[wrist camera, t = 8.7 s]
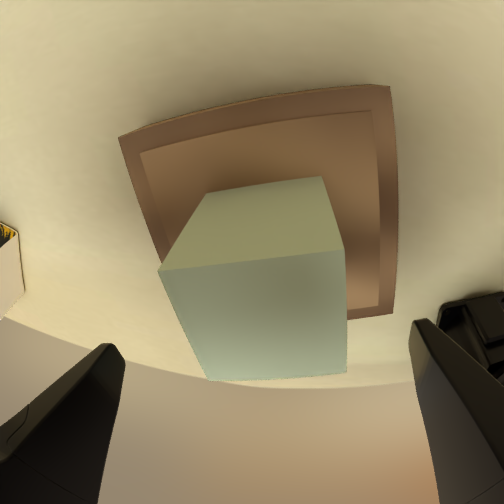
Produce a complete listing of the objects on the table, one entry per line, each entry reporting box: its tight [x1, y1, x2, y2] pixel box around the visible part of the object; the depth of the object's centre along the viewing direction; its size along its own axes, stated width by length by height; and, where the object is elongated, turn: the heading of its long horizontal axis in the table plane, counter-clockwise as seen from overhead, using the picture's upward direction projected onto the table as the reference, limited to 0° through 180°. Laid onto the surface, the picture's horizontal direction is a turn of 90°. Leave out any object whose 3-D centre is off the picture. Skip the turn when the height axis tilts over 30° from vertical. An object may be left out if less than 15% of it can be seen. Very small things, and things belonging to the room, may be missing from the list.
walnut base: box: [118, 85, 398, 320], centre depth 16 cm, size 12×12×3 cm
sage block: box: [158, 176, 347, 381], centre depth 12 cm, size 5×5×6 cm
